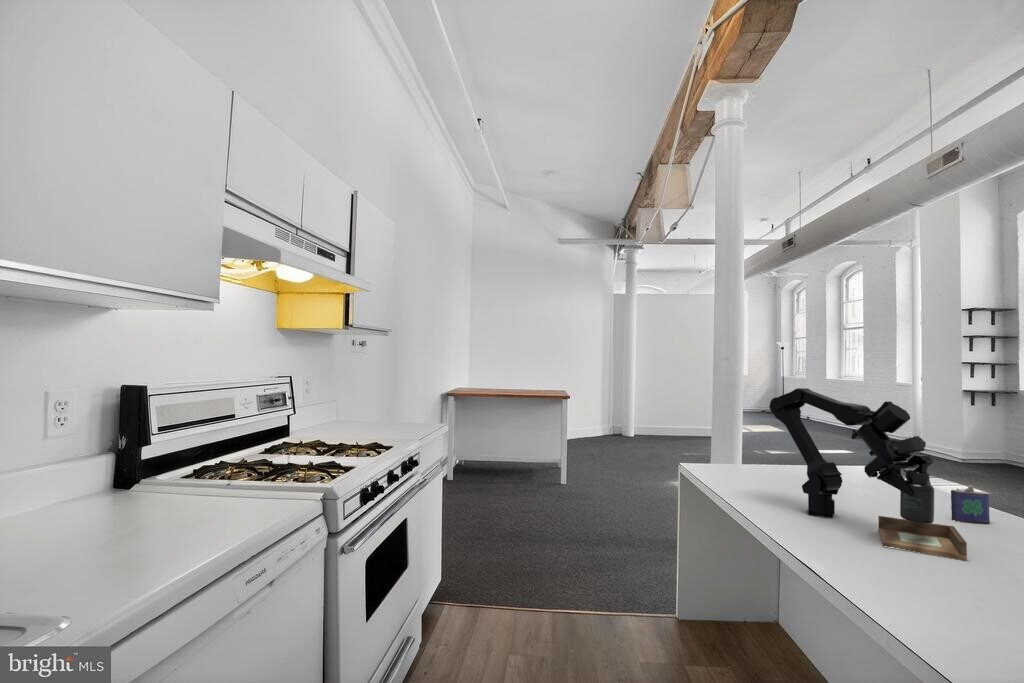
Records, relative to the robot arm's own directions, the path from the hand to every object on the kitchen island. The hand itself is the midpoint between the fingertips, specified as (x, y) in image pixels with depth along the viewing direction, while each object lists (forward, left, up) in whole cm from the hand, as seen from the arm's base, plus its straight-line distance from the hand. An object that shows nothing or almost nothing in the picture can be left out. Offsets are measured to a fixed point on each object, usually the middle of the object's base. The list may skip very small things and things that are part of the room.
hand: (922, 494), depth 130 cm
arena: (-1, +1, -13) cm, 13 cm away
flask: (+15, +36, -13) cm, 42 cm away
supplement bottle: (-1, +1, -7) cm, 7 cm away
